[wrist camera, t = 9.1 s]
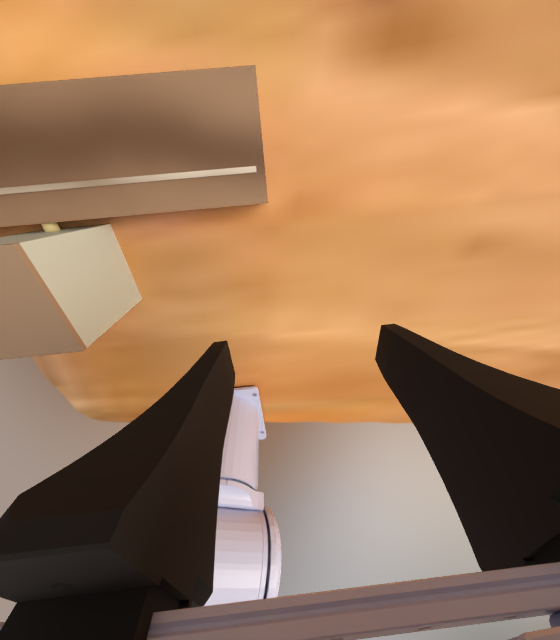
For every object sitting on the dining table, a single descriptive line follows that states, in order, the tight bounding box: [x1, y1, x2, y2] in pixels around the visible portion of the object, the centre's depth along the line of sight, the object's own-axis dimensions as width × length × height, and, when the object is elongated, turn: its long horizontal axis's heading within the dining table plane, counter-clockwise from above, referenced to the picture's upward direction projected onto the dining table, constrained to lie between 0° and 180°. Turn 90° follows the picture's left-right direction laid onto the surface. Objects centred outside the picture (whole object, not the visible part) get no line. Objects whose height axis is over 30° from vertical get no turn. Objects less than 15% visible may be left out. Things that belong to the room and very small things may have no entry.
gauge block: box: [0, 222, 142, 360], centre depth 14 cm, size 6×5×7 cm
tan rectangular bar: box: [0, 65, 268, 227], centre depth 13 cm, size 6×20×3 cm, turn 94°
